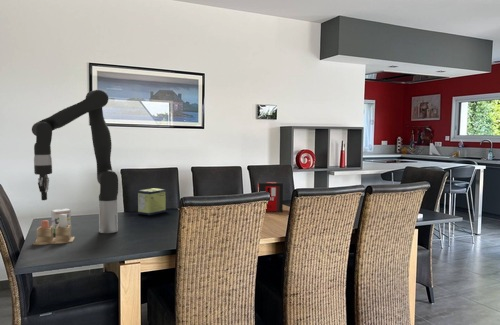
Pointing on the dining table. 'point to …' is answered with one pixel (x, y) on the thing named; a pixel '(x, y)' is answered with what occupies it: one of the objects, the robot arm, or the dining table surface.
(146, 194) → the protein box
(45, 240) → the socket block
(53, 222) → the ink box
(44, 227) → the terracotta plug
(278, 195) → the cleaning product box
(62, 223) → the grey plug
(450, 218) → the dining table surface
